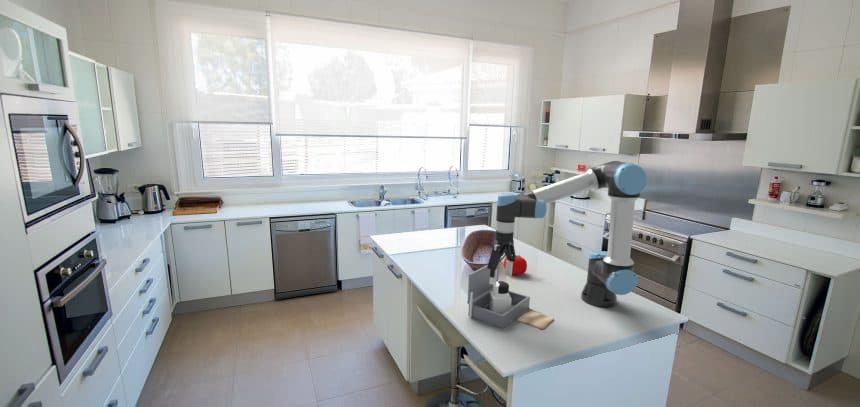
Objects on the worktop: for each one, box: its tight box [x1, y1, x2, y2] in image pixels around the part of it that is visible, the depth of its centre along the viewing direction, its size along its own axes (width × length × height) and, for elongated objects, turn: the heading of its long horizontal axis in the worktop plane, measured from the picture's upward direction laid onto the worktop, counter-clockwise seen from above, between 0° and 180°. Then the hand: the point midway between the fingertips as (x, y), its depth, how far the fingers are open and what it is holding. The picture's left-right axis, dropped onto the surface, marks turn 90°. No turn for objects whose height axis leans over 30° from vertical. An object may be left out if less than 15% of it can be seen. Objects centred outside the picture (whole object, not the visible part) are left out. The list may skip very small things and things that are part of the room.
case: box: [466, 262, 531, 329], centre depth 165 cm, size 17×25×18 cm
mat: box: [517, 309, 555, 330], centre depth 160 cm, size 11×11×1 cm
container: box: [488, 280, 512, 315], centre depth 166 cm, size 8×8×13 cm
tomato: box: [503, 254, 528, 276], centre depth 211 cm, size 11×13×10 cm
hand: (500, 279), depth 164 cm, fingers open, 13 cm apart
